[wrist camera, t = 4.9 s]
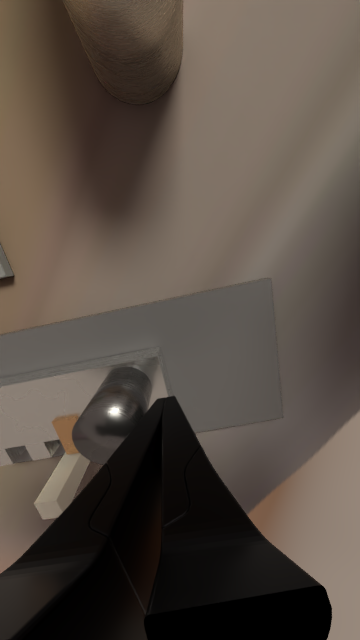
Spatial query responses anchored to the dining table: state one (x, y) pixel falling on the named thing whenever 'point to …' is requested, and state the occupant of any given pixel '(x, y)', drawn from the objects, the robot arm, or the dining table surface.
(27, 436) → the rack
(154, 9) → the chain link
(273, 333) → the rail base
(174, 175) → the dining table surface
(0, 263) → the pad
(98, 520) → the robot arm
